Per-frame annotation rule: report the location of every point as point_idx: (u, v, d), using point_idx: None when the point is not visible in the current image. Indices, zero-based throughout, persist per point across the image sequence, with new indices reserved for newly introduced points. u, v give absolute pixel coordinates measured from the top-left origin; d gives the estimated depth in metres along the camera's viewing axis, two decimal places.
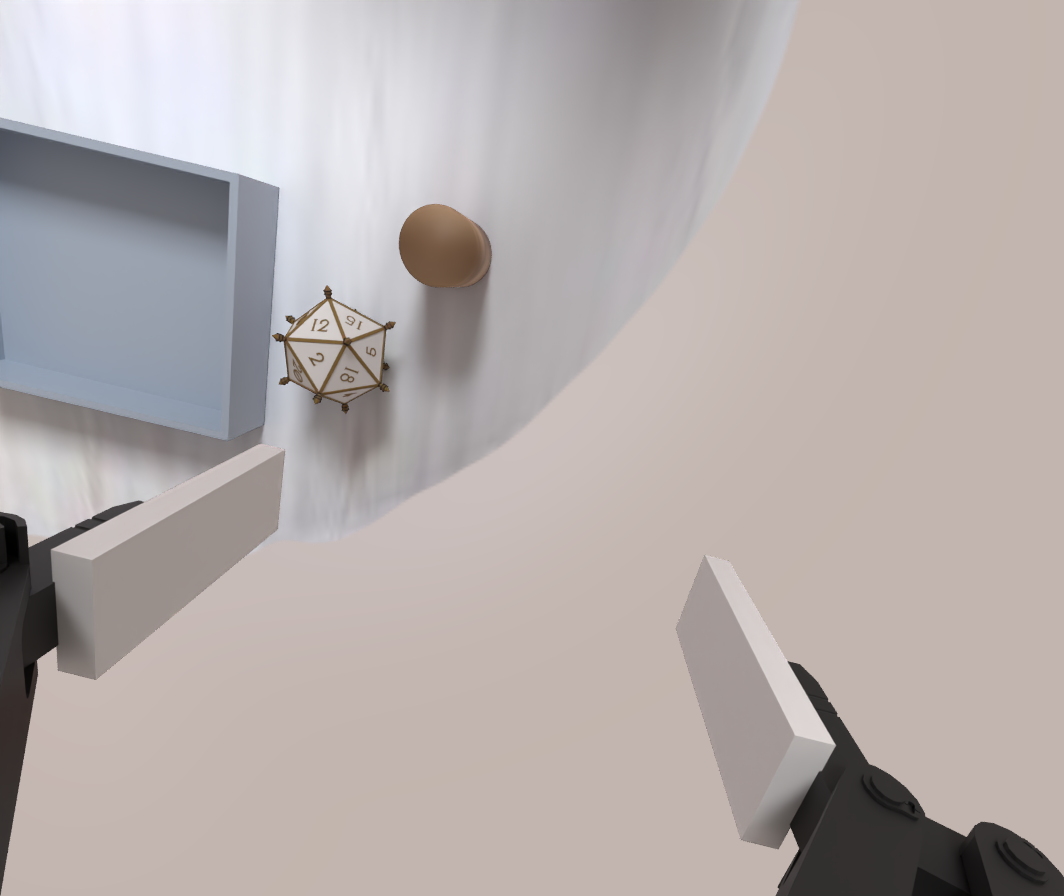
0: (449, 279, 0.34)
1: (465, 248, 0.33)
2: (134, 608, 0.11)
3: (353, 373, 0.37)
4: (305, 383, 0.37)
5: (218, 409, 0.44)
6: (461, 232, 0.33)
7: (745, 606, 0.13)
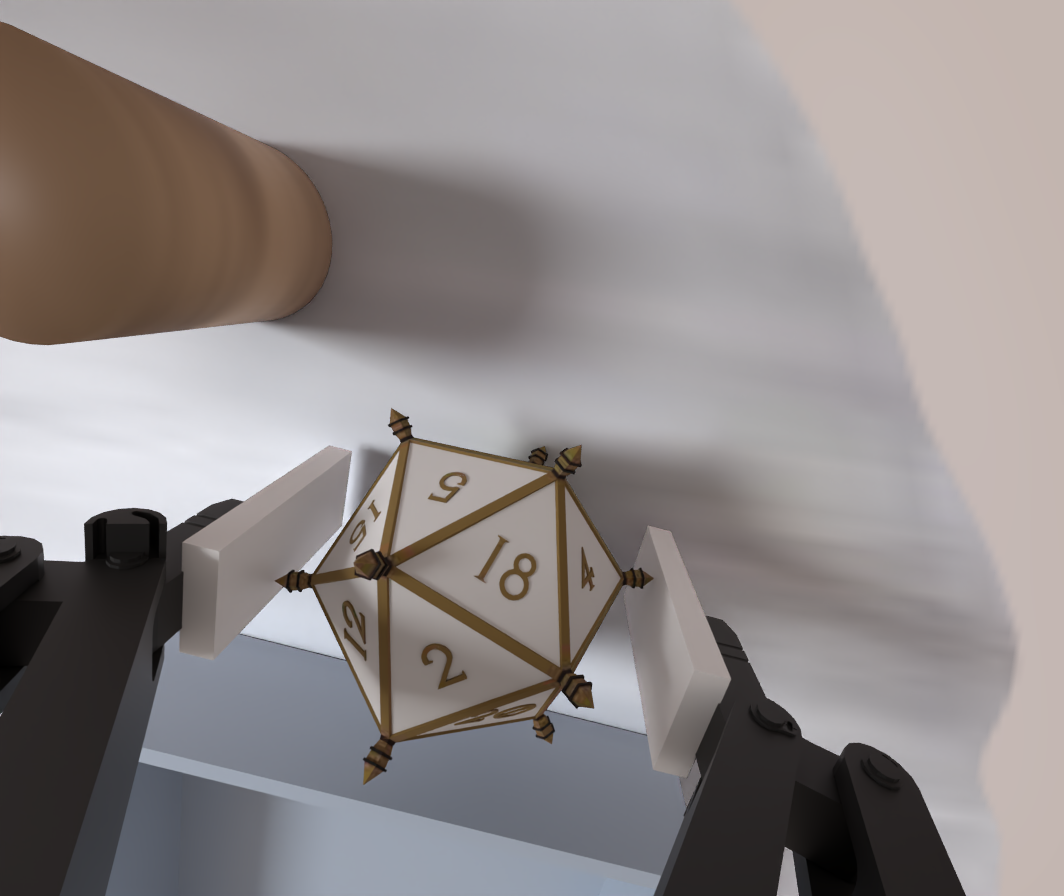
0: (105, 144, 0.08)
1: None
2: (242, 596, 0.12)
3: (504, 555, 0.11)
4: (535, 700, 0.12)
5: None
6: None
7: (676, 568, 0.14)
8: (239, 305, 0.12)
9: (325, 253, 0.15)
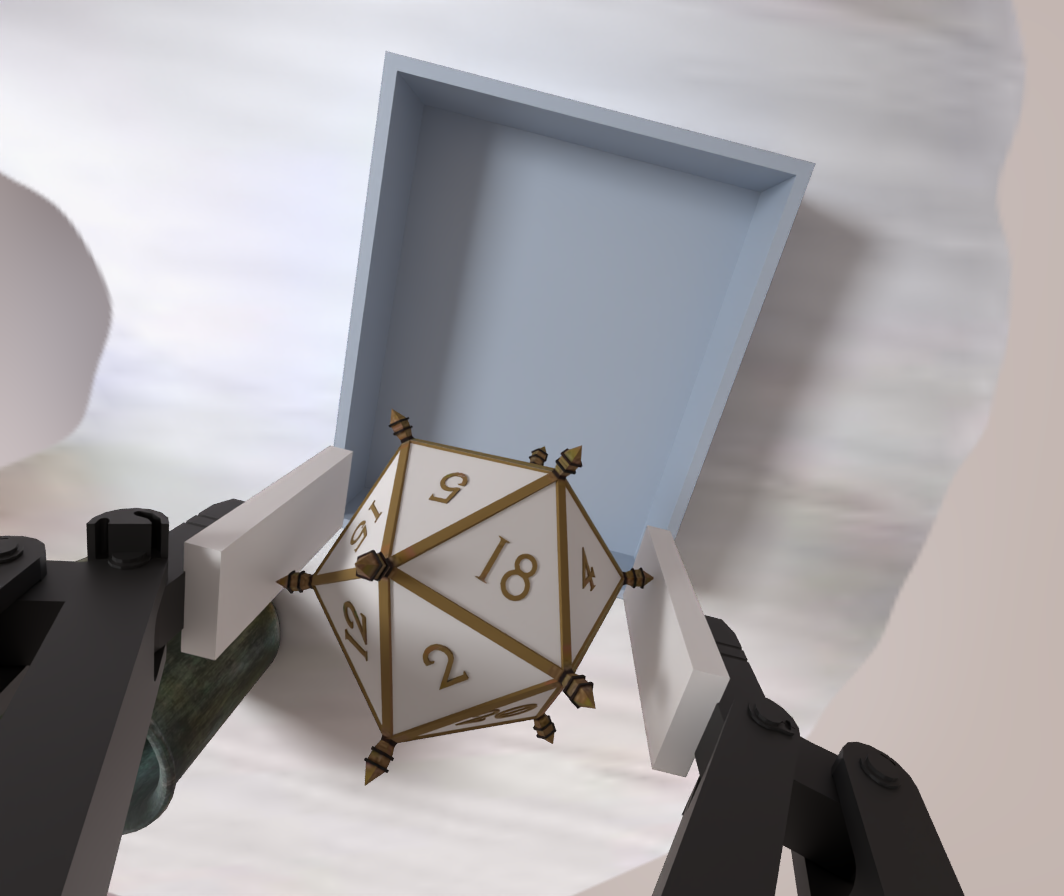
0: None
1: None
2: (244, 596, 0.12)
3: (505, 555, 0.11)
4: (536, 700, 0.12)
5: (739, 254, 0.28)
6: None
7: (675, 568, 0.14)
8: None
9: None
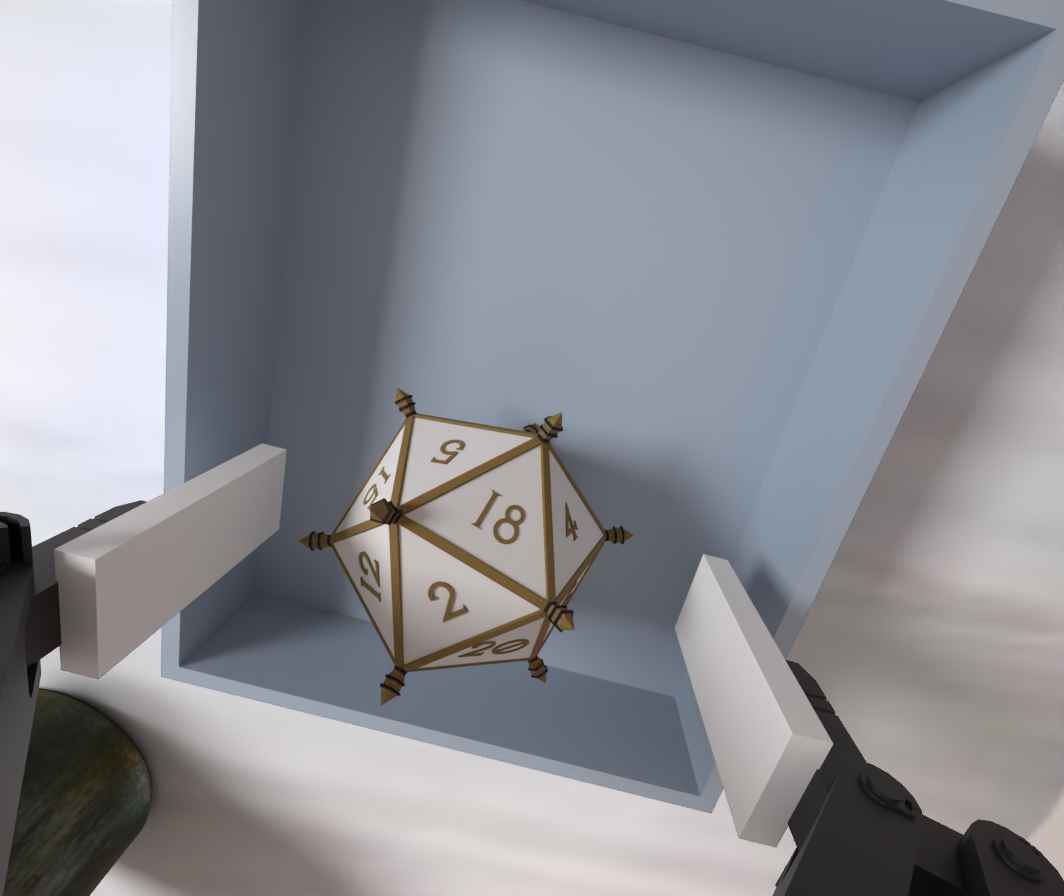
0: None
1: None
2: (137, 608, 0.11)
3: (497, 506, 0.13)
4: (527, 634, 0.13)
5: (872, 216, 0.16)
6: None
7: (743, 605, 0.13)
8: None
9: None
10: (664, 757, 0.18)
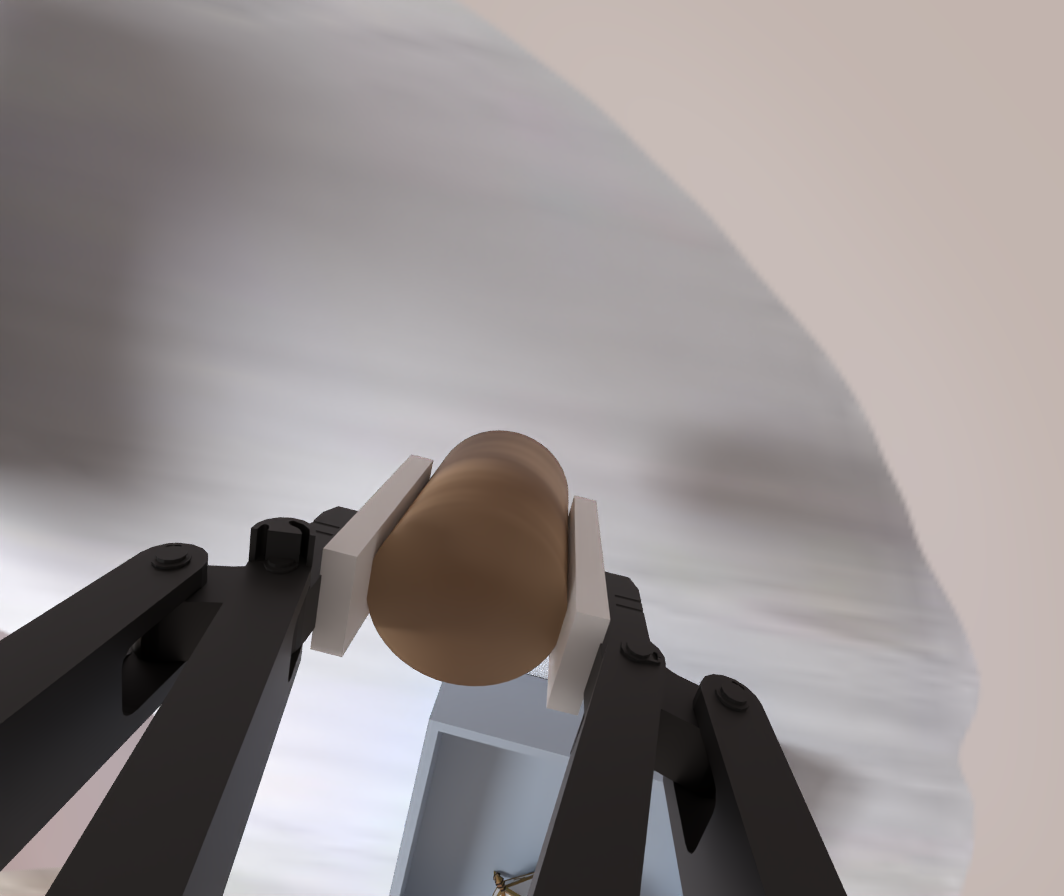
0: (547, 581, 0.12)
1: (468, 536, 0.12)
2: (363, 597, 0.13)
3: None
4: None
5: None
6: (429, 542, 0.12)
7: (590, 531, 0.15)
8: None
9: None
10: None
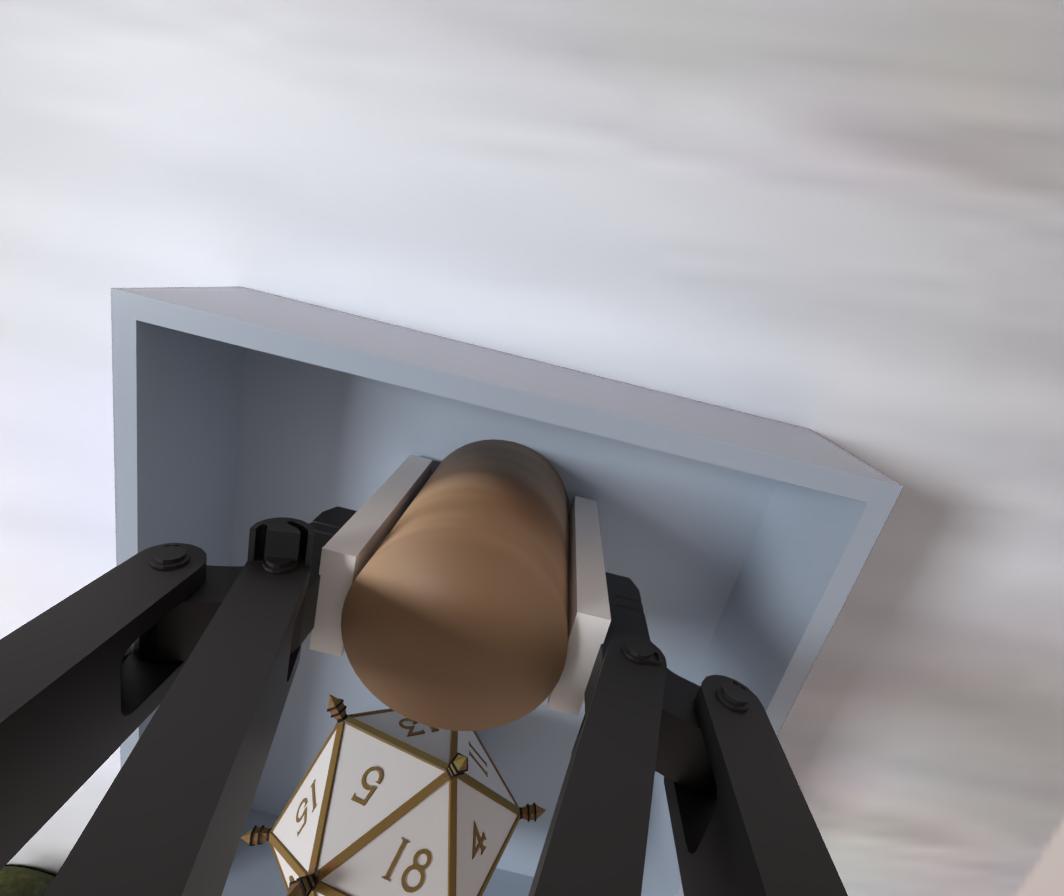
0: (545, 618, 0.11)
1: (455, 567, 0.11)
2: None
3: (406, 853, 0.14)
4: None
5: (756, 531, 0.18)
6: (411, 574, 0.11)
7: (590, 531, 0.15)
8: None
9: None
10: None
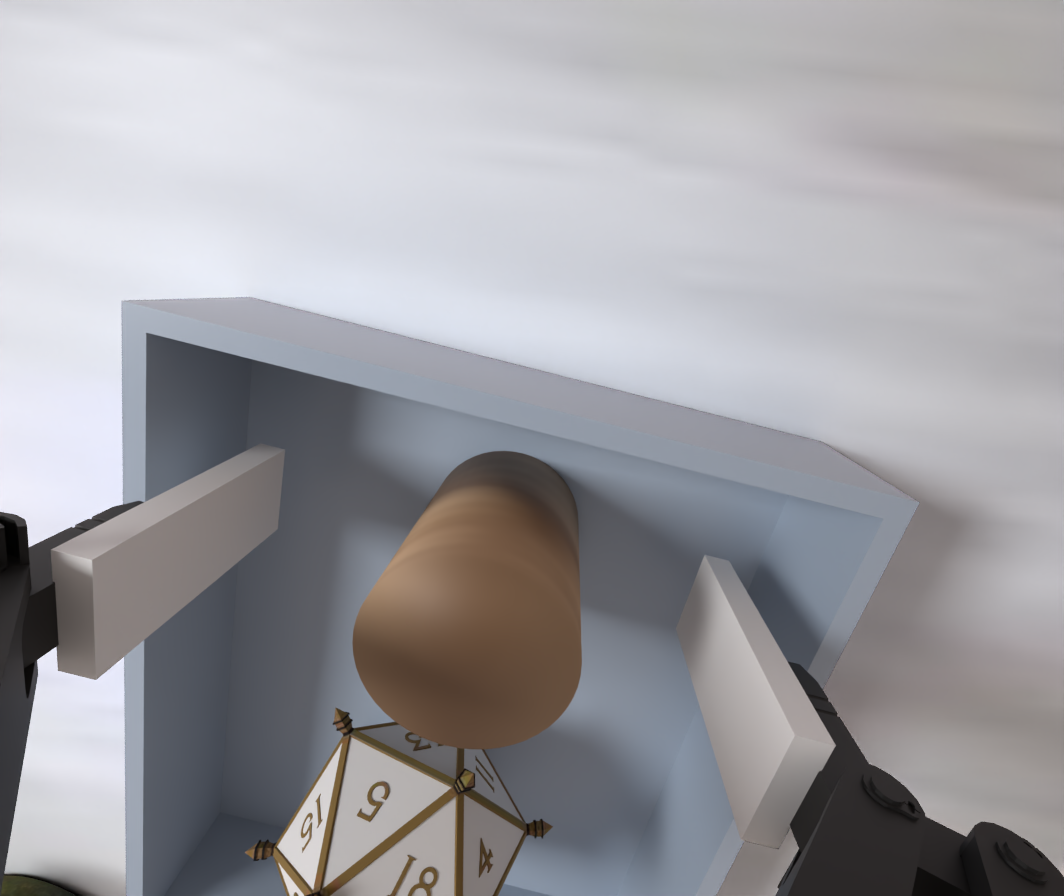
0: (559, 635, 0.11)
1: (469, 584, 0.11)
2: (134, 608, 0.11)
3: (412, 871, 0.14)
4: None
5: (767, 544, 0.17)
6: (424, 591, 0.11)
7: (745, 606, 0.13)
8: None
9: None
10: None
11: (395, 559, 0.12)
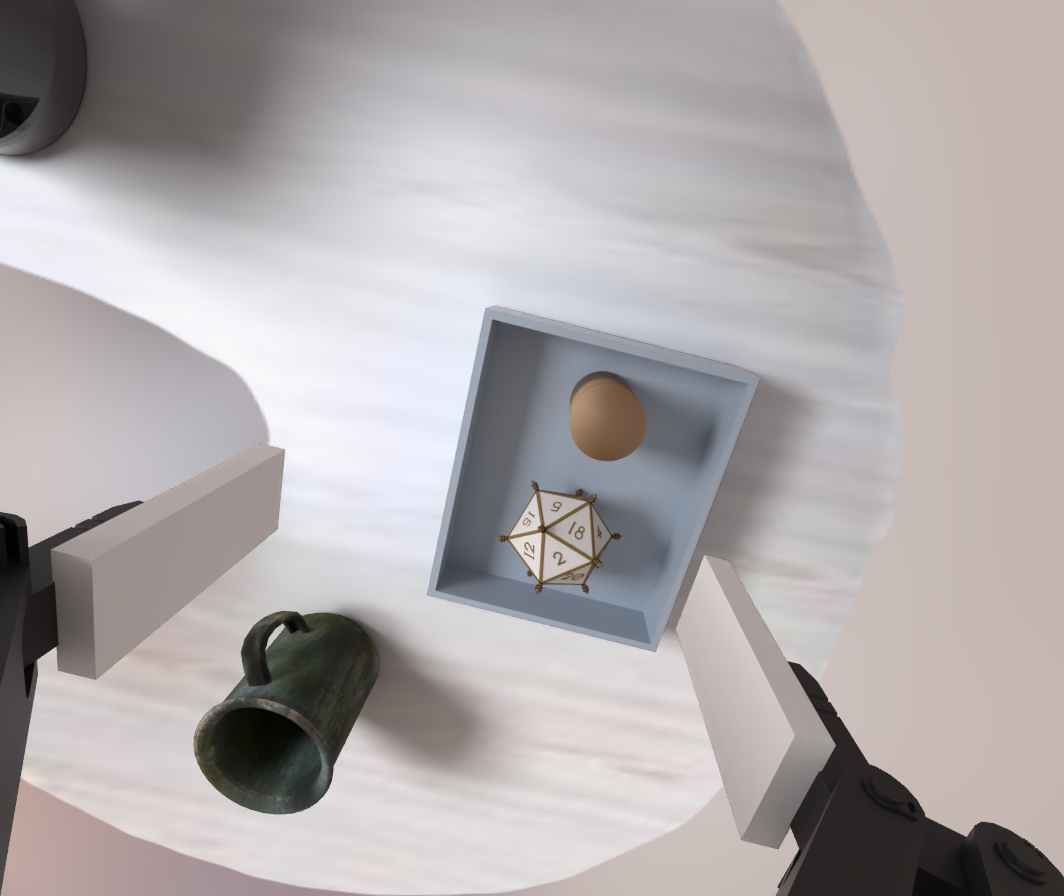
0: (639, 415, 0.34)
1: (611, 398, 0.34)
2: (134, 608, 0.11)
3: (575, 526, 0.37)
4: (584, 571, 0.38)
5: (715, 412, 0.40)
6: (596, 401, 0.34)
7: (745, 606, 0.13)
8: None
9: None
10: (636, 631, 0.43)
11: (582, 395, 0.34)
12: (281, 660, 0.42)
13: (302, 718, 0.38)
